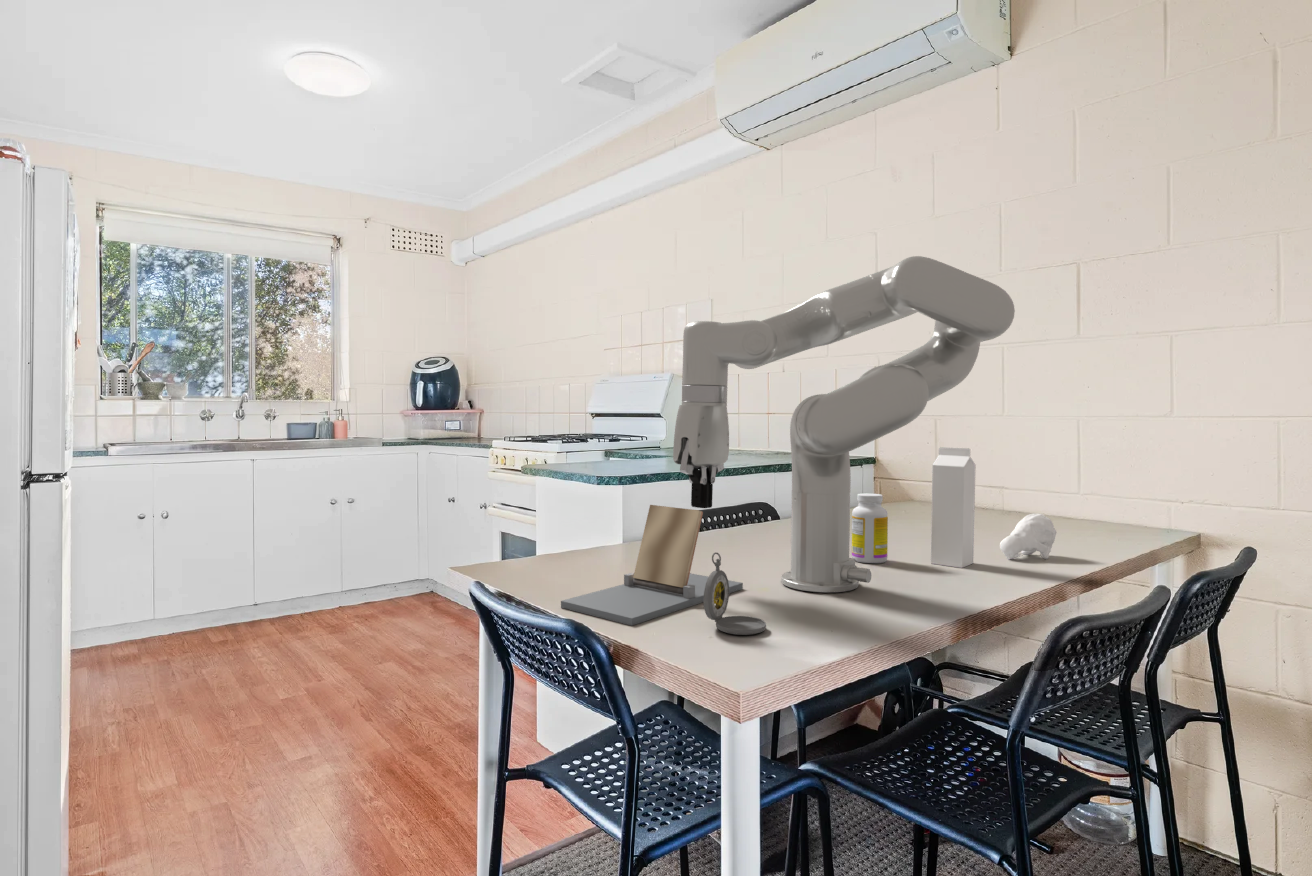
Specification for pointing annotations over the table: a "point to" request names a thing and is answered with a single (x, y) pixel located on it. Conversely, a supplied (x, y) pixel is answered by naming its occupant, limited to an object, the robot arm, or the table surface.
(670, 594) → the board
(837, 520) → the robot arm
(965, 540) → the milk
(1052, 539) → the white animal figurine
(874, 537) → the supplement bottle
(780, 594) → the table surface
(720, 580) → the pocket watch
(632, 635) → the table surface
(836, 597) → the table surface
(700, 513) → the tile
